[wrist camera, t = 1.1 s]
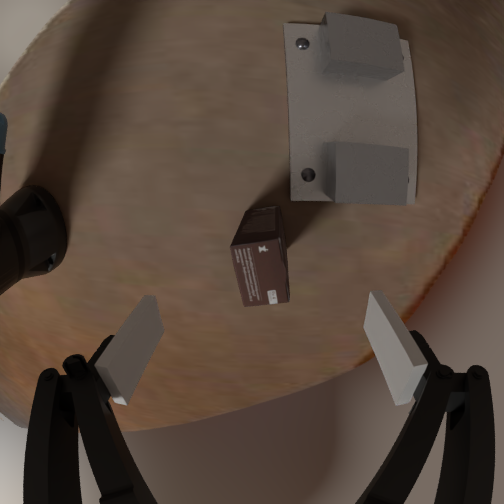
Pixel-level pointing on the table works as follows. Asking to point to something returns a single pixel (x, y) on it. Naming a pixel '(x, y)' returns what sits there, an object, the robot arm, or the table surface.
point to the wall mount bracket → (350, 112)
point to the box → (261, 258)
